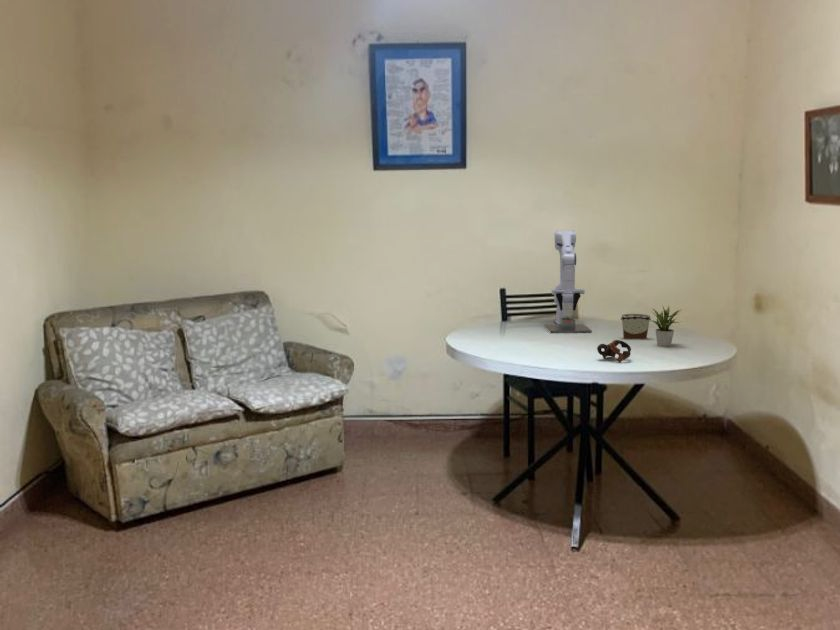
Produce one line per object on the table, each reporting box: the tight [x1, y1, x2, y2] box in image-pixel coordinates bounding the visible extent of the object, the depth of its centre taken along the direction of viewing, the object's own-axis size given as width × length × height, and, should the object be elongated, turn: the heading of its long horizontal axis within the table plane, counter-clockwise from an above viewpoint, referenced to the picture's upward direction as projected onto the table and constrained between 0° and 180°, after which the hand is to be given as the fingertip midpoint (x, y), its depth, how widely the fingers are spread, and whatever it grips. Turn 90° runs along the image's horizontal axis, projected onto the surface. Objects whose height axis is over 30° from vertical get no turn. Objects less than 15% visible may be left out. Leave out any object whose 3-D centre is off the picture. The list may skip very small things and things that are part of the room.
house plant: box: [649, 304, 683, 347], centre depth 296 cm, size 14×14×16 cm
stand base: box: [543, 317, 592, 334], centre depth 337 cm, size 18×18×6 cm
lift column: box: [563, 303, 573, 319], centre depth 336 cm, size 3×3×8 cm
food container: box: [620, 313, 652, 340], centre depth 314 cm, size 12×6×10 cm, turn 84°
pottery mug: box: [596, 339, 632, 363], centre depth 272 cm, size 12×10×8 cm
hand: (567, 310), depth 336 cm, fingers open, 5 cm apart
